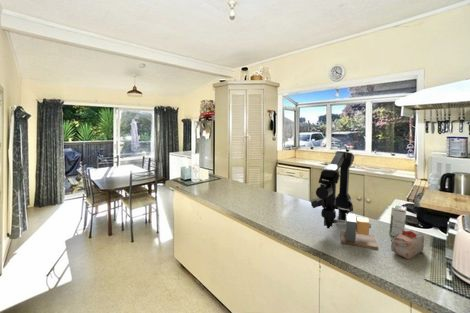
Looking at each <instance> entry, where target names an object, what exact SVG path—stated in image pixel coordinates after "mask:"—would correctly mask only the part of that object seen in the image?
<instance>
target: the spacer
mask: <svg viewBox="0 0 470 313" xmlns="http://www.w3.org/2000/svg"><path fill="white" fill-rule="evenodd" d="M355 218H356V222H357V226H356V233H357V234H364V235H370V228H369V224H370V221H369V218H368V217H362V216H355Z"/></svg>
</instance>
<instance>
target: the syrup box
mask: <svg viewBox="0 0 470 313" xmlns="http://www.w3.org/2000/svg"><path fill="white" fill-rule="evenodd" d="M390 212H391V213H390V222H389V224H390V225H389V234H388V236H392V237H395V236H396V235H398V234H399V235H401V234H402V233H403V232H402V230H404V231H405V229H406V226H405V225H406V220H407V219H406V218H407V207H406V206H402V205H398V204H397V205H396V204H395V205H393V204H392V207H391V211H390ZM399 235H398V236H399Z"/></svg>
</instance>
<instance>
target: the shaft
mask: <svg viewBox="0 0 470 313" xmlns="http://www.w3.org/2000/svg"><path fill="white" fill-rule="evenodd" d="M333 224H334V225H335V224H336V225H343V226H345V225H346V221H343V220H338V219H336V218H335V219H334V221H333V222H332V224H331V226H330V228H331V227H333V226H334V225H333ZM323 226H325V227H327V226H326V221H325V218H324V217H323ZM356 226H357V222H356ZM371 228H372V224H371V223H369V229H371Z"/></svg>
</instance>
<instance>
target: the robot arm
mask: <svg viewBox="0 0 470 313" xmlns="http://www.w3.org/2000/svg"><path fill="white" fill-rule="evenodd" d="M354 161H355V155H354V153H352V152H348V151H346V150H339V149H338V150H335V155H334V156H333V158H332V160H331V162H330V163H329V164H328V165H326V166H324V168H323V169H322V170H321V172H320V174H319V179H318V184H320V185H319V187H317V189H316V190H315V194H316V196H317V198H313V199H311V200H310V203H311V206H312V209H315V208H319V207H321V208H322V209H321V212H320V213H321V215H320V216H321V218H323V219H324V218H325V221H326V226H325V227H326V229H330V228H331V224H332V222H333V221H334V219H335V220H343V221H346V214H350V213H352V212H354V206H353V202H352V197H351V195H350V194H349V185H350V184H349V183H350V180H349V178H350V168H351V166H352V165H353V164H354ZM338 183H339V193H338V194H337V195H336V192H337V184H338ZM336 210H338V216H337V211H336ZM336 218H337V219H336Z"/></svg>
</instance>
